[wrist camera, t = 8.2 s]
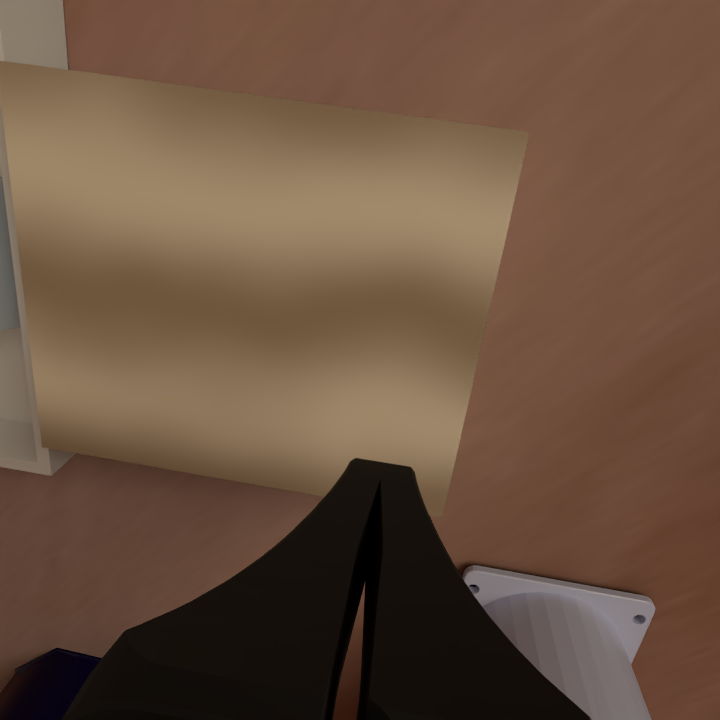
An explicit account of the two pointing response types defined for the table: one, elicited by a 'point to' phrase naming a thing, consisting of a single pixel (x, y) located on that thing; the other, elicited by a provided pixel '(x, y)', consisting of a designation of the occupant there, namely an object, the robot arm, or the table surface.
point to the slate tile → (6, 273)
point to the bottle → (46, 686)
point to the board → (252, 276)
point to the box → (11, 347)
